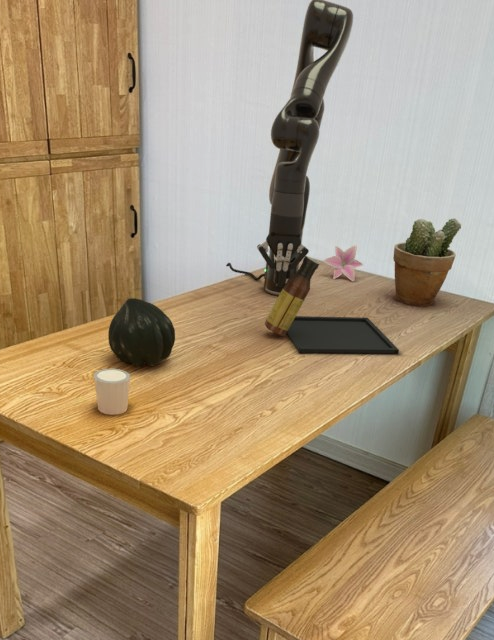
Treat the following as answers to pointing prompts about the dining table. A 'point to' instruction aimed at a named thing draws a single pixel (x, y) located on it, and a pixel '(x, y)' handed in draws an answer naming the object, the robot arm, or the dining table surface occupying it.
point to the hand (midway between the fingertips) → (279, 285)
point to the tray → (338, 336)
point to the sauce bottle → (291, 298)
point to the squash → (141, 333)
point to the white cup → (112, 390)
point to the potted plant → (423, 262)
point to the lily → (344, 262)
